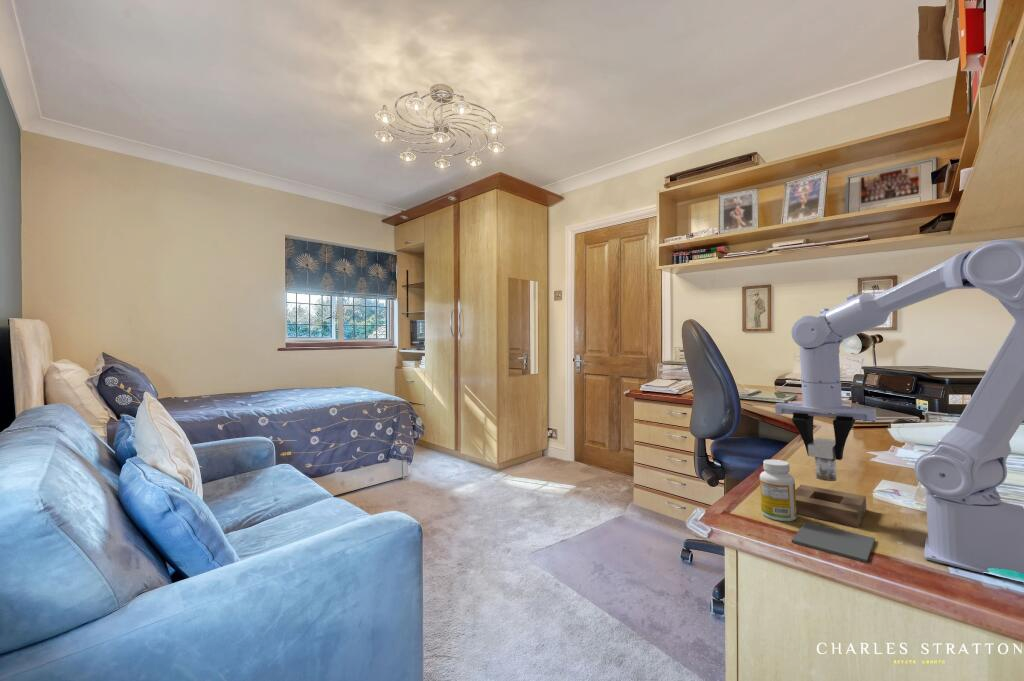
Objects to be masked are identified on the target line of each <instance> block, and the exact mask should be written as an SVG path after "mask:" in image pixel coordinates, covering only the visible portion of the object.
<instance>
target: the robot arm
mask: <svg viewBox="0 0 1024 681" xmlns="http://www.w3.org/2000/svg"><path fill="white" fill-rule="evenodd" d="M966 289H969V290H970V289H971V290H973V289H974V290H975V289H978V290H981V291H983V292H985V293H987V294H988V295H990V296H991V297H993V298H994V299H997V300H998V301H999V302H1000V304H1001V305H1002V306H1003V307H1004V308H1005V310H1007V312H1008V313H1009V314H1010V316H1011V317H1012V318H1013V319H1014V323H1013V325H1012V326H1011V328H1010V330H1009V332H1008V334H1007V335H1006V337H1005V338H1004V340H1003V342H1002V344H1001V346H1000V347H999V349H998V351H997V352H996V354H995V356H994V358H993V359H992V361H991V363H990V365H989V366H988V368H987V369H986V372H985V373H984V375H983V377H982V378H981V380H980V382H979V384H978V385H977V387H976V389H975V390H974V392H973V393H972V395H971V397H970V398H969V401H968V402H967V404H966V406H965V408H964V409H963V411H962V413H961V415H960V416H959V418H958V420H957V421H956V423H955V425H954V426H953V427H952V428H951V429H950V430H949V431H948V432H947V433H946V434H944V435H943V436H942V437H941V438H940V439H939V440H937V443H936V444H935V445H934V446H933V447H934V448H932V449H931V450H930V451H928V452H926V453H923V454H922V455H920V456H919V457H918V458H917V459H916V461H915V464H914V473H915V476H916V479H917V480H918V482H919V483H920V484H921V485H922V487H923V488H924V490H925V492H924V493H925V507H926V508H925V509H926V522H927V537H925V544H924V550H923V558H924V559H925V560H927V561H933V562H937V563H940V564H945V565H947V566H948V565H949V566H952V567H957V568H960V569H964V570H969V571H973V572H977V573H980V574H984V573H983V572H989V571H988V570H987V569H988V568H995V569H996V568H998V569H1007V570H1013V571H1016V572H1019V573H1022V574H1024V506H1023V505H1020V504H1014V503H1010V502H1006V501H1002V497H1001V495H1000V494H999V492H998V491H997V487H999V486H1001V485H1002V484H1003V483H1004V482H1005V481H1006V479H1007V476H1008V470H1007V459H1008V457H1009V455H1010V454H1011V452H1012V447H1011V445H1010V441H1011V439H1012V438H1013V437H1014V435H1015V434H1016V432H1017V430H1018V429H1019V427H1020V426H1021V424H1022V422H1023V421H1024V241H1021V240H1017V239H1011V238H1010V239H1009V238H1005V239H995V240H992V241H991V240H990V241H989V242H985V243H984V244H981V245H979V246H978V247H976V248H975V249H973V250H966V251H963V252H961V253H958V254H956V255H953V256H952V257H950V258H948V259H947V260H944V261H943V262H941V263H939V264H936V265H935V266H933V267H931V268H929V269H927V270H925V271H923V272H921V273H919V274H918V275H915V276H913V277H911V278H909V279H907V280H905V281H903V282H901V283H899V284H897V285H895V286H893V287H891V288H889V289H886V290H884V291H883V292H881V293H879V294H876V295H873V294H869V293H860V294H859V293H852V294H850V295H848V296H846V298H845V299H846V301H843V302H841V303H840V304H838V305H835V306H833V307H831V308H822V309H821V310H819V314H818V315H817V316H815V315H804V316H802V317H800V318H799V319H798V320H796V321H795V322H794V323H793V326H792V329H791V338H792V339H793V341H794V343H795V344H797V345H798V346H799V357H800V358H799V359H800V360H799V361H800V374H801V375H800V379H801V395H802V403H796V402H795V403H794V402H793V403H792V402H791V403H788V402H777V403H775V404H774V413H775V415H792V417H791V421H792V424H793V425H794V426H795V428H796V429H797V431H798V433H799V434H800V437H801V439H802V442H803V443H804V444H803V445H804V446H805V450H806V454H807V456H808V444H810V443H811V442H812V441H813V440H815V439H814V417H819V418H820V417H822V418H833V420H832V425H833V432H834V440H835V456H836V457H835V459H836V461H841V460H843V458H844V456H843V455H844V450H845V446H846V443H847V438H848V436H849V434H850V432H851V430H852V429H853V426H854V425H855V423H856V420H862V421H868V422H876V421H877V410H876V408H871V407H861V406H860V407H859V406H852V405H851V406H848V405H843V400H842V398H843V397H842V384H841V383H842V382H841V381H842V380H841V366H840V346H841V344H842V343H843V342H844V340H846V339H848V338H850V337H853V336H856V335H859V334H861V333H863V332H867V331H869V330H872V329H874V328H877V327H880V326H883V325H884V324H885V323H886V322H887V321H888V318H889V316H890V314H891V313H894V312H895V311H898V310H901V309H903V308H907V307H909V306H913V305H914V304H917V303H920V302H923V301H926V300H928V299H930V298H933V297H936V296H939V295H941V294H942V295H943V294H945V293H947V292H949V291H953V290H966ZM834 418H835V419H834Z"/></svg>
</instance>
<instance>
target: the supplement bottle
mask: <svg viewBox="0 0 1024 681" xmlns="http://www.w3.org/2000/svg"><path fill="white" fill-rule="evenodd" d="M763 470H764V471H761V473H760V474H759V491H760V492H759V493H760V508H761V509H760V510H761V513H762V515H763V516H764V517H766V518H768V519H770V520H775V521H780V522H793V521H795V520H796V519H797V517H798V516H797V515H798V514H797V512H796V494H795V490H796V482H795V478H794V476H793V475H791V474H790V473H789V472H790V471H791V470H790V463H789V462H788V461H786V460H781V459H771V458H770V459H764V460H763Z"/></svg>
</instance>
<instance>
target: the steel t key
mask: <svg viewBox="0 0 1024 681" xmlns="http://www.w3.org/2000/svg"><path fill="white" fill-rule="evenodd" d="M807 456H808V457H813V458H814V465H815V466H814V467H815V478H816V479H817V480H820V481H826V482H835V481H836V482H837V480H838V479H837V478H838V477H837V464H836V463H837V462H836V461H837V460H836V458H835V457H836V456H835V439H831V438H829V439H828V438H819V437H816V438H815V439H814V440H813V441H812V442H811V443H810V444H808V455H807Z"/></svg>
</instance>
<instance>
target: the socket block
mask: <svg viewBox="0 0 1024 681" xmlns="http://www.w3.org/2000/svg"><path fill="white" fill-rule="evenodd" d="M795 494H796V512H797V515H800V516H806V517H810V518H814V519H817V520H818V519H819V520H824V521H827V522H831V523H837V524H840V525H845V526H848V527H849V526H850V527H855V528H859V527H860V525H861V522H862V521H863V519H864V516H865V514H866V512H867V497H866V496H865V495H861V494H856V493H851V492H844V491H839V490H833V489H829V488H823V487H822V488H821V487H817V486H812V485H806V484H799V486H798V487H797V488H795Z"/></svg>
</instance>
